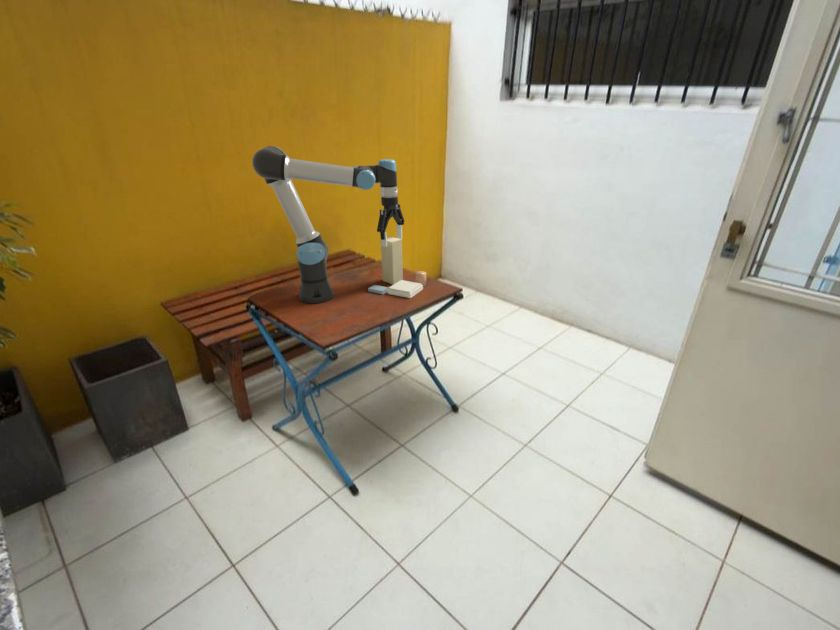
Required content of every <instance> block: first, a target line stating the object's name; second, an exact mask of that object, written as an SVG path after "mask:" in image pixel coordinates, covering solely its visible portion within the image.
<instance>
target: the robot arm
mask: <svg viewBox="0 0 840 630" xmlns="http://www.w3.org/2000/svg"><path fill="white" fill-rule="evenodd" d="M251 163H252V167H253V170H254V172H255V173H256V174H257V175H258V176H260V177H261V178H263V180H264V181H265V184H266V185H268V186H270V187H271V188H272V189H273V191H274V194H275V195H276V198H277V199H278V201H279V203H280V206H281V209H283V211H284V213H285V217H286V218H287V220H288V222H289V224H290V227H291V228H292V231H293V232H294V235H295V237H296V241H295V244H296V246H297V250H296V257H297V259H296V260H297V262H298V270H299V276H300V277H299V278H300V286H299V287H300V288H299V292H298V296H299V297H298V299H299V300H300V301H301V302H303V303H305V304H319V303H324V302H328V301H329V300H331V299H333V297H334V296H335V295H334V289H333V288H332V286H331V283H330V281H329V278H328V270H327V259H328V255H329V248H328V247H329V246H328V244H327V243H326V242H325V240H324V239H323V238H322V236H321V233H320V232H319V231H316V230H315V228H314V226H313V224H312V222H311V220H310V218H309V216H308V212H307V211H306V209H305V207H304V205H303V202H302V200H301V197H300V196H299V193H298V191H297V189H296V187H295V185H294V183H293V180H300V181H305V182H314V183H323V184H331V185H338V186H339V185H340V186H345V187H353V188H359V189H361V190H365V191H368V190H371V189H372V188H373V187H374V186H375V184H379V185H380V187H379V188H380V196H381V197H380V201H381V202H380V203H381V205H382V206H383V209H379V218H378V223H377V229H376V232H377V233H379V234H380V247H381V246H385V247H387V237H388V236H387V228H388V224H389V221H390V220H391V218H393V220H394V222H395V223H396V225H395V229H396V230H395V232H396V238H398V239H402V240H403V226H404V225H405V219H404V215H403V212H402V209H401V205H400V204H399V197H398V175H397V174H398V173H397V172H398V171H397V164H396V161H395V159H391V158H389V159H388V158H385V159H379V160H378V164H374V165H373V164H372V165H355V166H345V165H338V164H331V163H324V162H317V161H310V160H304V159H303V160H302V159H295V158H291V157H289V156H288V155H287V154H286V153H285V152H284V150H282V149H281V148H280V147H276V146H273V145H268V146H265V147H262V148H261V149H259V150H257V151H256V152H255V153H254V154H253V156H252V162H251Z"/></svg>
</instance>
